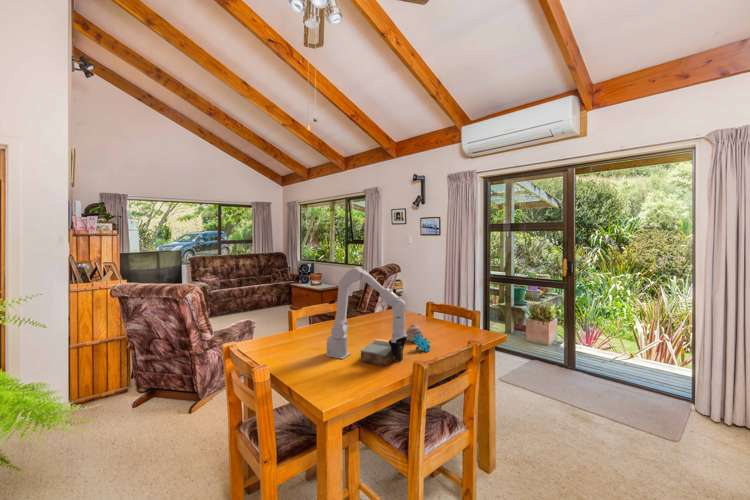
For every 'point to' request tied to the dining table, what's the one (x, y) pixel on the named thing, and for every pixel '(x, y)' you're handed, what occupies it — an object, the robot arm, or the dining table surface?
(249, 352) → the dining table surface
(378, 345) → the lid
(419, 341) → the gear
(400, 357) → the block
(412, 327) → the cupcake
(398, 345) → the robot arm
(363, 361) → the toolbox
